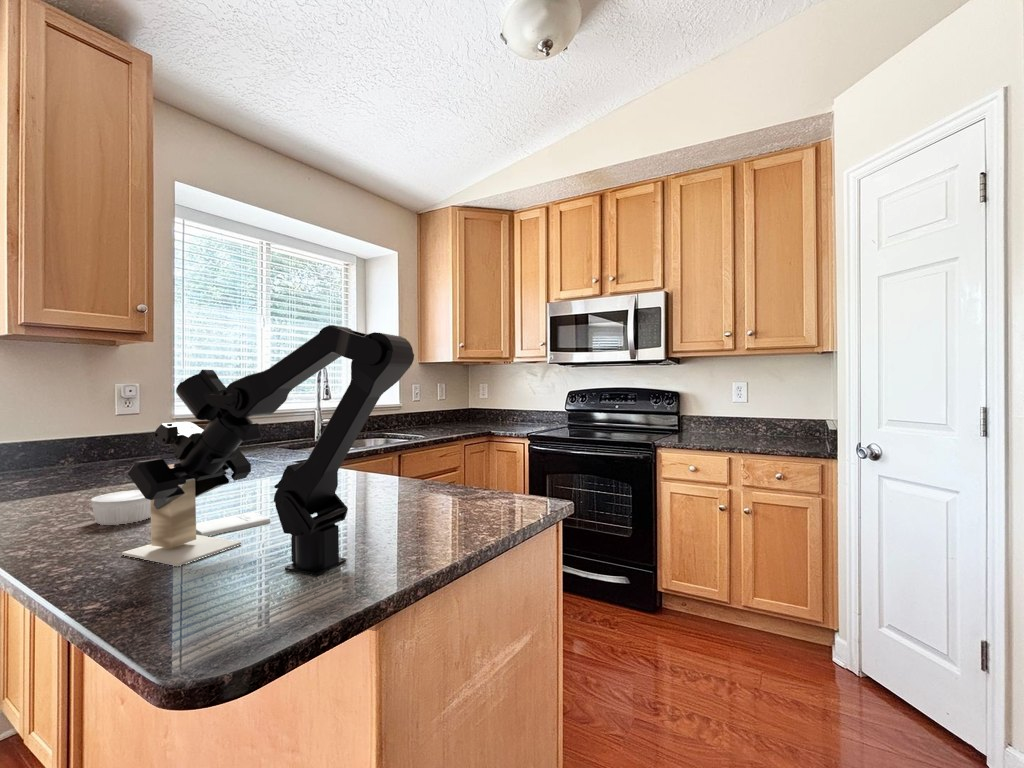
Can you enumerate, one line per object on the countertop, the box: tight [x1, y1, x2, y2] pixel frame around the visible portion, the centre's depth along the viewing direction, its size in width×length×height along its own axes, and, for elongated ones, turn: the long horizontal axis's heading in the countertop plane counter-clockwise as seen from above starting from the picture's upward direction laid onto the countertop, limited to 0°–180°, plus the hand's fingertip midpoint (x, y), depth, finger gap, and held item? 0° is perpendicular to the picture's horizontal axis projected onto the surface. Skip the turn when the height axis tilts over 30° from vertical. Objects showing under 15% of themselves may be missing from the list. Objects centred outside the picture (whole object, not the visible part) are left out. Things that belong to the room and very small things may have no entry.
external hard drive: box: [196, 511, 271, 537], centre depth 99 cm, size 2×8×12 cm
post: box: [150, 463, 197, 548], centre depth 84 cm, size 4×4×13 cm
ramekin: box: [90, 489, 151, 526], centre depth 104 cm, size 11×11×5 cm
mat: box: [121, 535, 242, 567], centre depth 84 cm, size 14×11×1 cm
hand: (169, 503), depth 85 cm, fingers closed on post, 4 cm apart
